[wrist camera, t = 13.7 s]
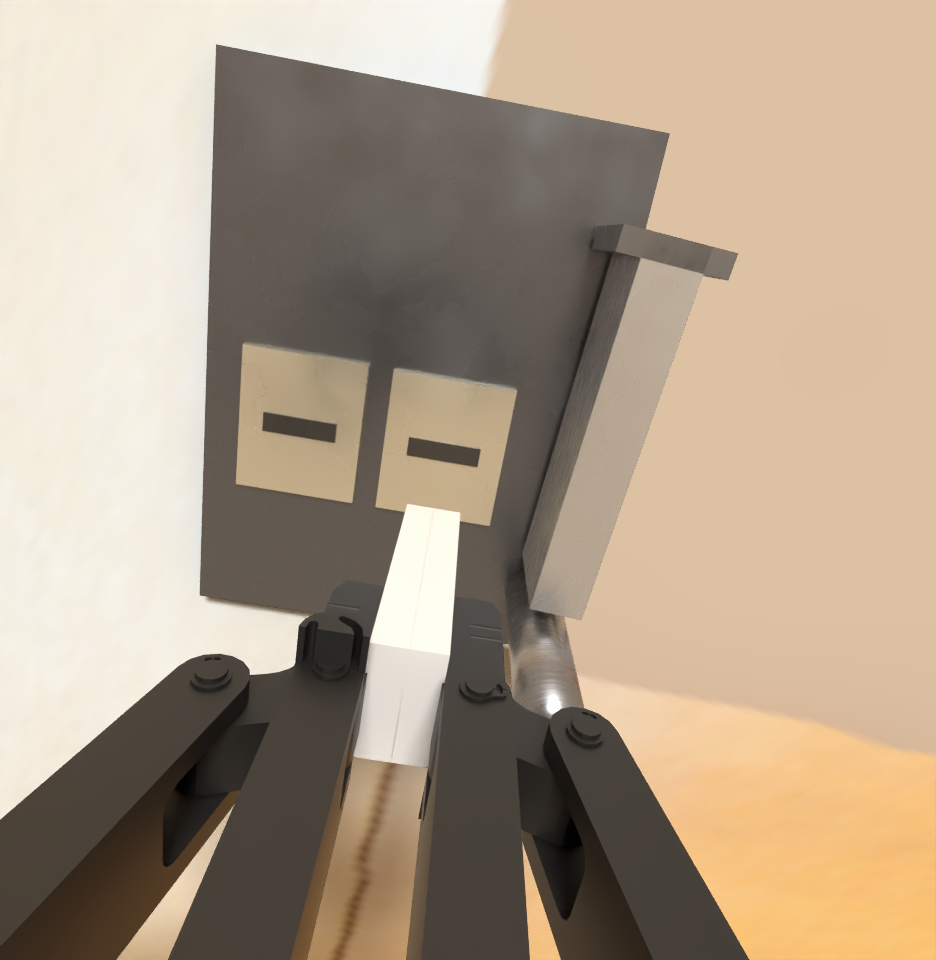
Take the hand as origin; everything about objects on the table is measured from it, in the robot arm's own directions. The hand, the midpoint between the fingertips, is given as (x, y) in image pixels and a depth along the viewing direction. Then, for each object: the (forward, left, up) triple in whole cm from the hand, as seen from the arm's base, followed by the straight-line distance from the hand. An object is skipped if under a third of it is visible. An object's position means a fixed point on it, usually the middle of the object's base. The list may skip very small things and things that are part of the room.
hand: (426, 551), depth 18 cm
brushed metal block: (+6, +3, -9) cm, 11 cm away
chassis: (-2, +2, -10) cm, 11 cm away
